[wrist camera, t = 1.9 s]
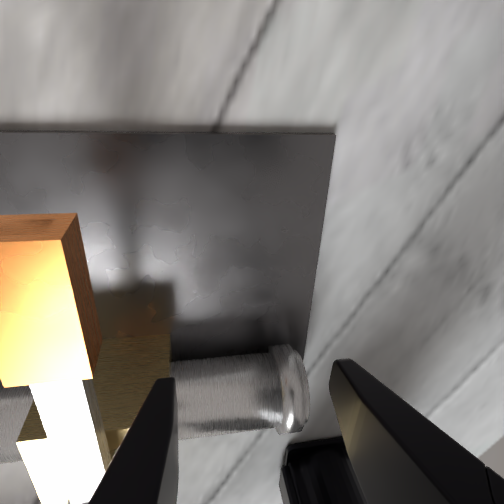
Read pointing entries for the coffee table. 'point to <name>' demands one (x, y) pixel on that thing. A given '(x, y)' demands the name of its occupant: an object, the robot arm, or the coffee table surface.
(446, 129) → the coffee table surface
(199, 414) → the pipe on metal plate
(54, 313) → the valve lever
